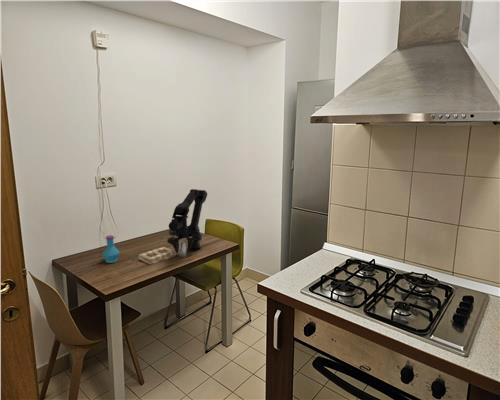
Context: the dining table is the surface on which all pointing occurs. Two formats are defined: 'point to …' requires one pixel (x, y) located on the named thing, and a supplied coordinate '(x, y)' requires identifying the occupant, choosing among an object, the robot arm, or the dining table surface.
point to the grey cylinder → (183, 249)
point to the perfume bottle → (110, 250)
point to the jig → (157, 255)
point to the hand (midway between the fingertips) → (183, 251)
